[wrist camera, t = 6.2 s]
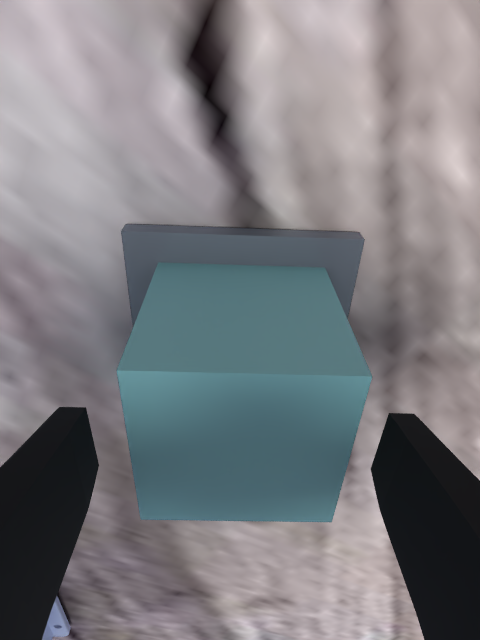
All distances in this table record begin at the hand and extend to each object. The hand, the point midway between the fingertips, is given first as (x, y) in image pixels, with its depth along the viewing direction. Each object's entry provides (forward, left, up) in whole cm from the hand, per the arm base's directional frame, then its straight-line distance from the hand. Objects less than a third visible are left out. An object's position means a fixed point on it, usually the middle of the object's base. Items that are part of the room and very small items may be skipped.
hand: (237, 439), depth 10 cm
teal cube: (0, 0, -4) cm, 4 cm away
